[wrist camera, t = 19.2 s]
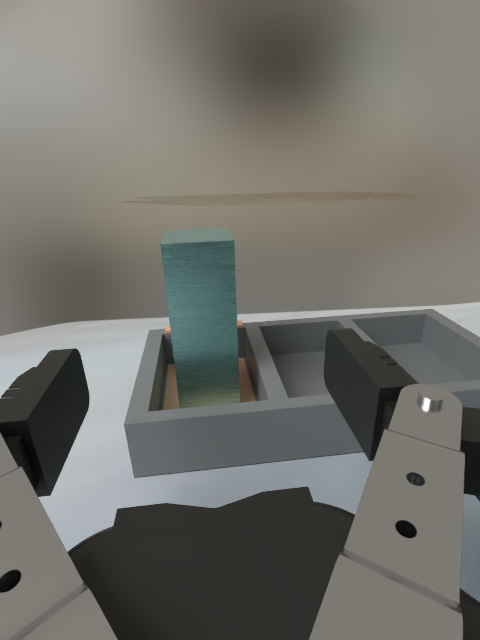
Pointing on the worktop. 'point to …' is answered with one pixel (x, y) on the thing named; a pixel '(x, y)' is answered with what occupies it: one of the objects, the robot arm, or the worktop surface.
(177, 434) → the slot rack
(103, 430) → the worktop surface
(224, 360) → the brushed teal metal block
